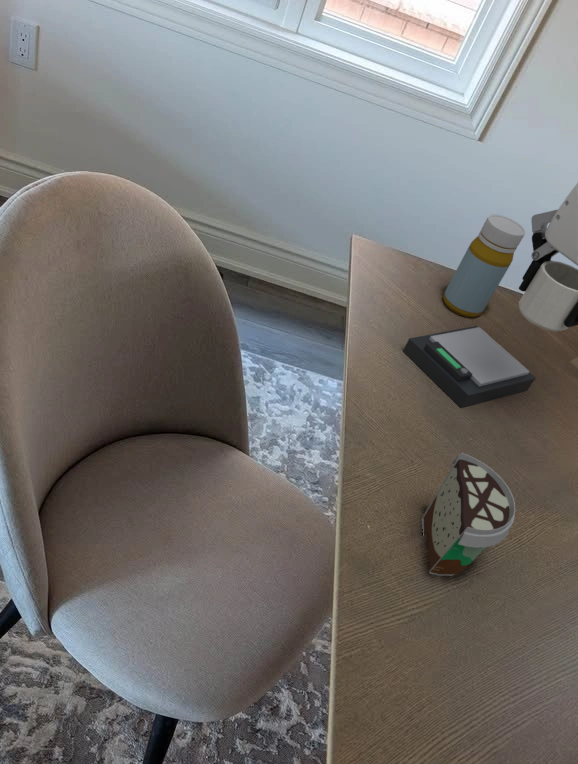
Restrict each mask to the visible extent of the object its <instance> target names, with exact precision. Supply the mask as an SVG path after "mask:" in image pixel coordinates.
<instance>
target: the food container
mask: <svg viewBox="0 0 578 764" xmlns="http://www.w3.org/2000/svg"><path fill="white" fill-rule="evenodd" d="M451 464H452V466H451V468H450V470H449V471H448V473H447V474H446V476H445V478H444V479H443V481H442V483H441V485H440V486H439V488H438V489H437V491H436V492H435V495H434V496H433V498H432V500H431V501H430V503H429V505H428V507H427V508H426V509H425V511H424V513H423V515H422V517H421V533H422V532H423V536H422V537H424V536H428V538H427V539H428V540H427V541H428V561H429V571H428V574H430V575H435V576H441V577H445V576H447V577H449V576H450V577H452V576H456V575H458V574H461V573H462V572H464V571H465V570H466V569H467V568H468V567H469V566H470V565H471V564H472V563H473V562H474V561H475V560H476V559H477V558H478V557H479V556H480V555H481V554H482V552H484V551H485V550H486V548H488V547H493V546H495V545H498V544H499V543H501V542H503V541H504V540H505V538H506V537H508V534H509V532H510V531H511V528H512V525H513V523H514V520H515V515H516V501H515V499H514V498H515V497H514V495H513V494H512V491H511V489H510V487H509V486H508V485H507V483H506V482H505V481H504V479H503V478H502V477H501V476H500V475H499V474H498V472H496V471H495V470H493V469H492V468H491V467H490V466H488V465H487V464H486V463H484V462H483V461H481V460H480V459H478V458H475V457H473V456H471V455H469V454H467V453H464V452H460V453H459V454H458V455H457V456H456V457H455V458H454V459H453V460H452V462H451ZM422 529H423V531H422Z"/></svg>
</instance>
